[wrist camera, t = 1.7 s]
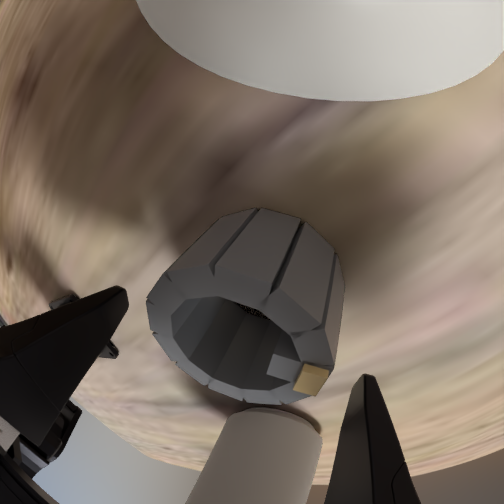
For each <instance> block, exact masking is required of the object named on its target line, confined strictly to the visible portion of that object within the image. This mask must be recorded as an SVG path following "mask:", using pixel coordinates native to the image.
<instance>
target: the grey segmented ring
mask: <svg viewBox="0 0 504 504" xmlns="http://www.w3.org/2000/svg"><path fill="white" fill-rule="evenodd" d="M300 221H301V219H300V218H297V217H293V216H290V215H286V214H282V213H279V212H275V211H272V210H268V209H264V208H261V209H260V210H259V211H257V209H256V208H253V209H249V210H245V211H242V212H238V213H234V214H230V215H227V216H223V217H221V218H220V219H218V220H217V221H216V222H215V223H214V224H213V225H212V226H211V227H210V228H209V229H208V230H207V231H206V232H205V233H204V234H202V235H201V236H200V237H199V238H198V239H197V240H196V241H195V242H194V243H193V244H192V245H191V246H190V247H189V248H188V249H187V250H186V251H185V252H184V253H183V254H182V255H181V256H180V257H179V258H178V259H177V260H176V261H175V262H174V263H173V264H172V265H171V266H170V267H169V268H168V269H167V270H166V271H165V272H164V273H163V274H162V276H161V277H160V278H159V280H158V281H157V283H156V284H155V286H154V287H153V289H152V290H151V291H150V293H149V294H148V296H147V297H146V298H148V299H147V300H146V306H147V313H148V319H149V325H150V330H152V331H154V332H153V333H152V334H153V336H154V337H155V339H156V340H157V341H158V343H159V344H160V346H161V347H162V348H163V350H164V351H165V353H166V354H167V355H168V357H169V358H170V359H171V361H177V362H176V364H175V365H176V366H178V367H179V368H180V369H182V370H183V371H184V372H186V373H187V374H188V375H190V376H191V377H192V378H194V379H195V380H196V381H198V382H199V383H201V384H202V385H203V386H205V385H207V384H208V388H209V389H211V390H214V391H216V392H219V393H221V394H224V395H227V396H229V397H232V398H235V399H237V400H240V401H243V399H245V400H246V402H248V403H260V404H275V405H282V402H283V403H285V404H289V403H292V402H295V401H298V400H301V399H304V398H307V397H310V396H316V395H317V394H318V392H319V391H320V389H321V388H322V386H323V385H324V383H325V382H326V380H327V379H328V377H329V376H330V374H331V372H332V371H333V369H334V365H335V359H336V353H337V346H338V340H339V333H340V325H341V318H342V310H343V301H344V292H345V284H344V279H343V275H342V271H341V267H340V263H339V259H338V255H337V254H334V250H335V249H334V248H333V247H332V246H331V245H330V244H329V243H328V242H327V241H326V240H325V239H324V238H323V237H322V236H320V235H319V234H318V233H317V232H316V231H315V230H314V229H313V228H312V227H311V226H310V225H309V224H308V223H307V222H305V223H304V224H303V225H302V226H301V227H300V228H299V225H300ZM233 301H234V302H233ZM235 302H237V303H240V304H243V305H245V306H248V307H251V308H254V309H257V310H260V311H261V312H262V313H263V314H264V315H266V316H267V317H268V318H269V319H270V320H272V321H270V320H267V319H264V318H261V317H258V316H255V315H252V314H249V313H247V312H245V311H244V310H243V309H242V308H241V307H239V306H238V305H237V304H236V303H235Z"/></svg>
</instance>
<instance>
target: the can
mask: <svg viewBox="0 0 504 504" xmlns="http://www.w3.org/2000/svg"><path fill="white" fill-rule="evenodd" d="M322 444H323V443H322V437H321V436H320V435H319V434H318V433H317V432H316V431H315V430H314V427H313V426H312V425H311V424H310V423H309V422H308V421H306V420H305V419H303V418H301V417H299V416H297V415H294V414H292V413H289V412H285V411H282V410H278V409H272V408H265V407H258V408H250V409H246V410H244V411H243V412H238V413H234V414H232V415H231V416H230V417H229V418H228V419H227V421H226V423H225V425H224V427H223V430H222V432H221V434H220V436H219V438H218V440H217V442H216V444H215V446H214V448H213V450H212V452H211V454H210V456H209V458H208V460H207V462H206V464H205V466H204V468H203V470H202V472H201V474H200V476H199V478H198V480H197V482H196V484H195V486H194V488H193V490H192V492H191V494H190V495H189V497H188V500H187V501H186V503H185V504H306V501H307V498H308V494H309V491H310V488H311V485H312V481H313V478H314V474H315V471H316V467H317V464H318V460H319V456H320V452H321V448H322Z"/></svg>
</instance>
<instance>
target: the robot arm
mask: <svg viewBox="0 0 504 504" xmlns="http://www.w3.org/2000/svg"><path fill="white" fill-rule="evenodd" d="M49 307H50V308H51V310H50V311H48V312H45V313H43V314H41V315H37V316H35V317H32V318H30V319H27V320H24V321H21V322H18V323H15V324H12V325H8V326H5V325H3V326H2V327H1V328H0V504H59V503H58V502H57V501H55V500H54V499H53V498H52V497H51V496H50V495H48V494H47V493H46V492H45V491H44V490H43V489H42V488H41V487H40V486H39V485H37V484H36V483H35V482H34V481H33V480H32V478H33V477H34V476H35V474H36V473H37V472H39V471H40V470H41V469H42V468H44V467H46V466H47V465H49V463H50V462H52V461H54V460H55V459H57V457H58V456H59V455H60V454H61V453H62V451H63V450H64V448H65V446H66V444H67V441H68V439H69V437H70V435H71V433H72V431H73V429H74V427H75V425H76V423H77V421H78V419H79V417H80V416H81V414H82V410H81V409H80V408H79V407H78V406H75V405H74V404H73V403H72V402H71V401H70V400H69V398H70V397H71V395H72V394H73V392H74V391H75V389H76V388H77V386H78V385H79V383H80V382H81V380H82V379H83V377H84V376H85V374H86V373H87V371H88V370H89V368H90V367H91V366H92V364H93V363H94V361H95V360H96V359H97V358H98V357H102V358H112V359H116V358H117V357H118V355H119V354H118V352H117V351H116V350H115V348H114V347H113V346H112V345H111V344H110V342H109V340H110V339H111V337H112V336H113V334H114V332H115V330H116V329H117V327H118V325H119V324H120V322H121V320H122V318H123V317H124V315H125V313H126V312H127V310H128V307H129V302H128V296H127V291H126V289H124V288H122V287H120V286H113V287H110V288H108V289H105V290H102V291H100V292H97V293H95V294H92V295H89V296H87V297H84V298H81V299H79V300H78V299H77V298H76V297H75V296H74V295H73V294H71V295H68V296H66V297H63V298H60V299H57V300H54V301H52V302H51V303H49ZM404 461H405V458H404V455H403V452H402V449H401V446H400V443H399V440H398V437H397V435H396V432H395V429H394V426H393V423H392V420H391V418H390V415H389V412H388V409H387V407H386V404H385V401H384V399H383V396H382V394H381V391H380V388H379V386H378V383H377V381H376V378H375V377H374V376H373V375H369V374H362V376H361V377H360V378H359V379H358V381H357V382H356V383H355V384H354V386H353V388H352V390H351V394H350V398H349V402H348V405H347V409H346V413H345V416H344V419H343V423H342V427H341V431H340V436H339V441H338V446H337V451H336V456H335V461H334V465H333V470H332V474H331V479H330V483H329V487H328V491H327V495H326V498H325V502H324V504H421V502H420V500H419V497H418V495H417V492H416V490H415V487H414V485H413V482H412V479H411V477H410V474H409V471H408V467H407V464H406V462H404Z"/></svg>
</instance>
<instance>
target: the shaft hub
mask: <svg viewBox="0 0 504 504" xmlns="http://www.w3.org/2000/svg"><path fill="white" fill-rule="evenodd" d="M136 1H137V4H138V6H139V8H140V11H141V13H142V14H143V16H144V18H145V19H146V21H147V22H148V24H149V25H150V27H151V28H152V29H153V30H154V31H155V32H156V33H157V35H158V36H159V37H160V38H161V39H162V40H163V41H164V42H165V43H166V44H168V45H169V46H170V47H171V48H173V49H174V50H175V51H176V52H177V53H179V54H180V55H182V56H183V57H185V58H187V59H188V60H190V61H192V62H193V63H195V64H196V65H198V66H200V67H202V68H204V69H207V70H209V71H211V72H213V73H215V74H217V75H219V76H221V77H224V78H227V79H230V80H233V81H236V82H239V83H241V84H244V85H247V86H251V87H255V88H259V89H263V90H267V91H271V92H274V93H279V94H286V95H292V96H298V97H303V98H309V99H320V100H332V101H364V102H370V101H380V100H393V99H403V98H408V97H414V96H419V95H425V94H430V93H433V92H436V91H440V90H443V89H446V88H449V87H452V86H455V85H457V84H459V83H461V82H463V81H465V80H467V79H470V78H472V77H474V76H476V75H477V74H478V73H480V72H481V71H482V70H484V69H485V68H487V67H488V66H489V65H491V64H492V63H493V62H494V61H495V60H496V59H497V57H498V56H499V55H500V54H501V53H502V52H503V51H504V0H136Z"/></svg>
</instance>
